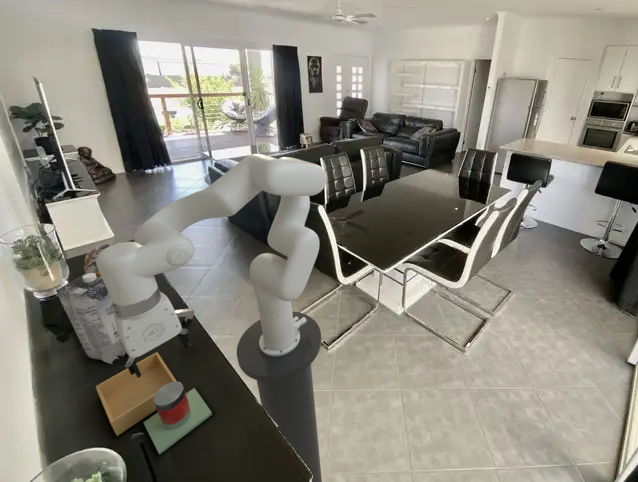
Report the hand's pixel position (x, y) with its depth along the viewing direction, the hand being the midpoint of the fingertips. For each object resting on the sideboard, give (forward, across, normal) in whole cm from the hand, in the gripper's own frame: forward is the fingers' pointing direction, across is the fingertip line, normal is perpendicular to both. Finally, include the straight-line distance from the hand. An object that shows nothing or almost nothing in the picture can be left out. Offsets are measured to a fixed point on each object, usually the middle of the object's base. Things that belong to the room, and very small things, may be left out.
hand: (162, 358), depth 73 cm
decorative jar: (+21, +4, +73) cm, 76 cm away
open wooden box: (+20, -5, +14) cm, 25 cm away
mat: (+20, -2, 0) cm, 20 cm away
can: (+19, -2, 0) cm, 19 cm away
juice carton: (+20, -6, +37) cm, 43 cm away
